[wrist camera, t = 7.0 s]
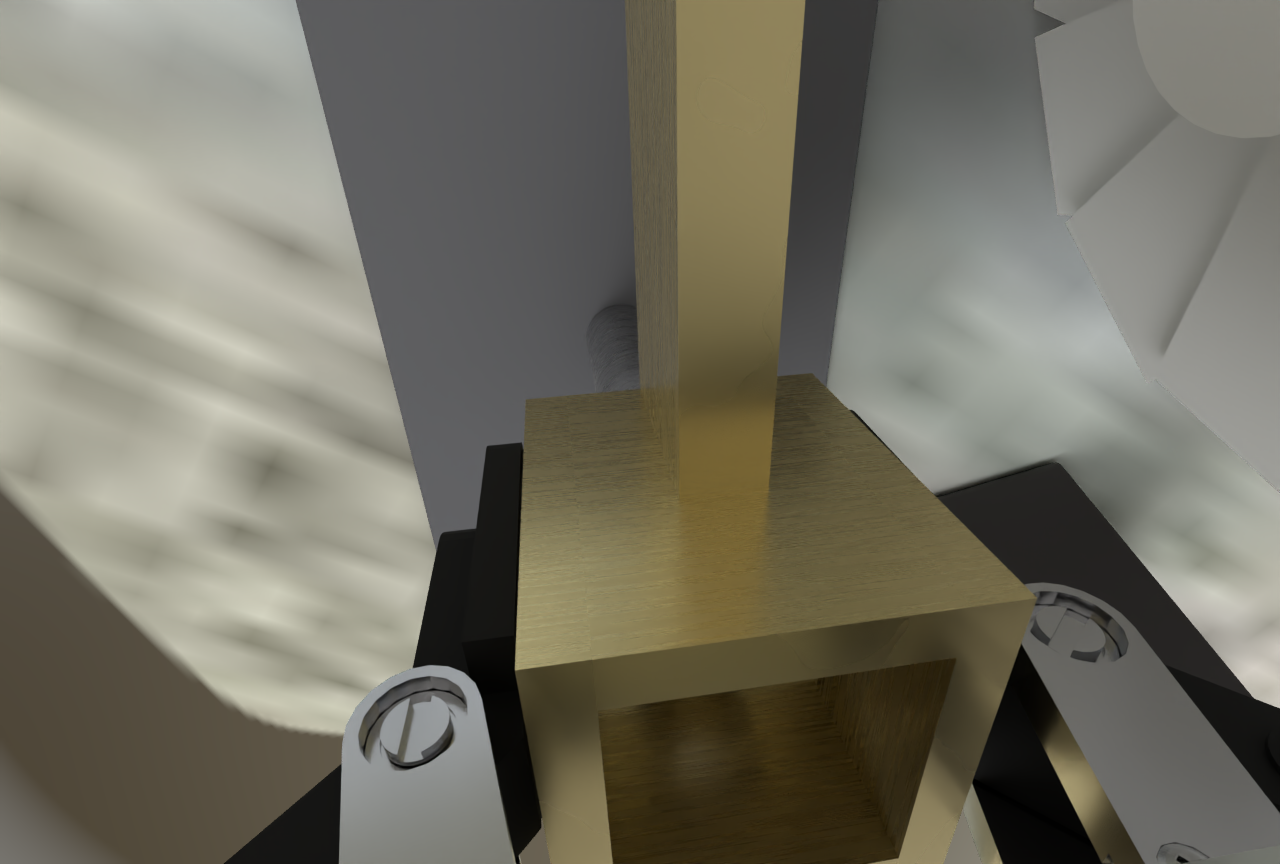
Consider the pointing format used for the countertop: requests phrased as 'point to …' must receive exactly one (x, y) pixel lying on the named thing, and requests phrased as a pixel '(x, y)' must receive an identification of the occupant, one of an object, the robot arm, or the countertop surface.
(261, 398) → the countertop surface
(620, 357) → the fixed leaf
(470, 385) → the mat
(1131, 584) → the phone stand
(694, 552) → the loose leaf
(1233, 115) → the spiral staircase
